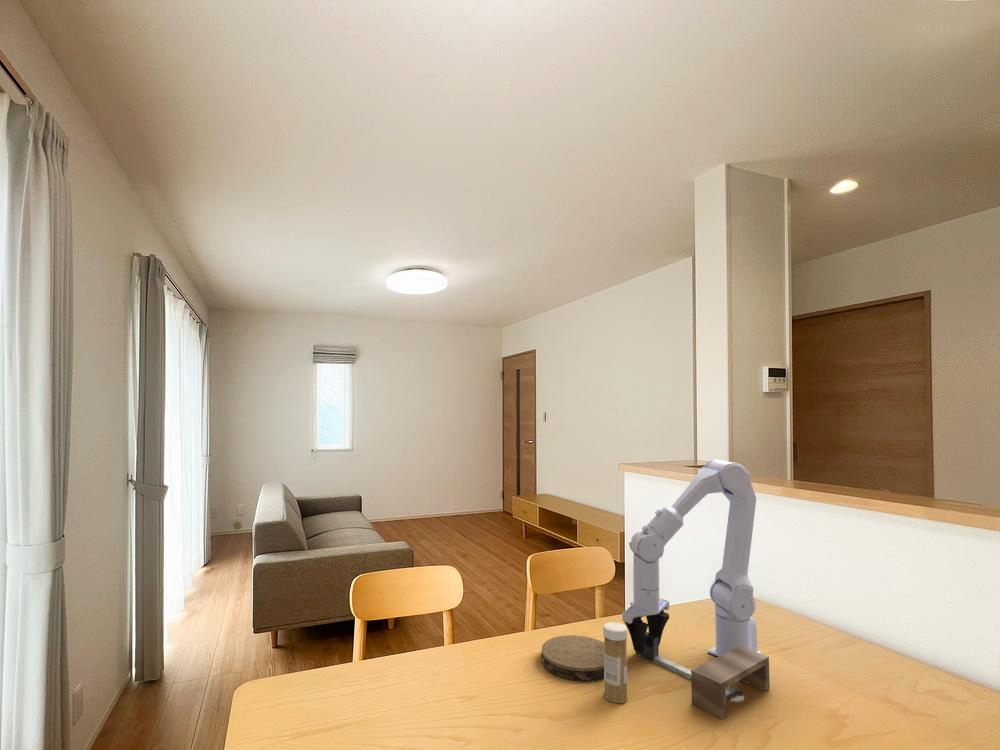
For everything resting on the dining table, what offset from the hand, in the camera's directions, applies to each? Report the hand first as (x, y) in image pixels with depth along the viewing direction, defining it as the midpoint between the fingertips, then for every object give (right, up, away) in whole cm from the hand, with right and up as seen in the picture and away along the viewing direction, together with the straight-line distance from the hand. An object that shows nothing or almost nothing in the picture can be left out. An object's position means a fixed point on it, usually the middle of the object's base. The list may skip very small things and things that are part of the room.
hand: (646, 648), depth 116 cm
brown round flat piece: (-16, -2, -4) cm, 17 cm away
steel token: (+12, -1, -16) cm, 20 cm away
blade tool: (+4, -2, -5) cm, 7 cm away
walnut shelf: (+12, -1, -16) cm, 20 cm away
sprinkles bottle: (-11, -1, -17) cm, 20 cm away
